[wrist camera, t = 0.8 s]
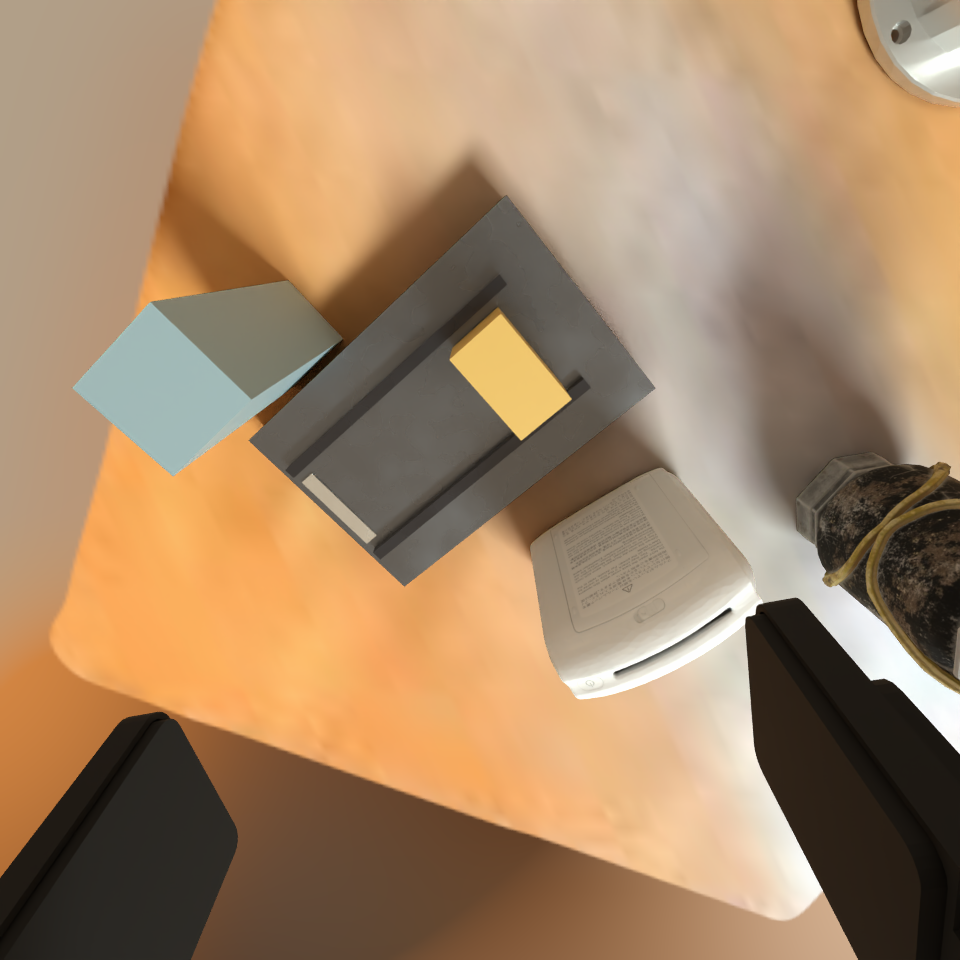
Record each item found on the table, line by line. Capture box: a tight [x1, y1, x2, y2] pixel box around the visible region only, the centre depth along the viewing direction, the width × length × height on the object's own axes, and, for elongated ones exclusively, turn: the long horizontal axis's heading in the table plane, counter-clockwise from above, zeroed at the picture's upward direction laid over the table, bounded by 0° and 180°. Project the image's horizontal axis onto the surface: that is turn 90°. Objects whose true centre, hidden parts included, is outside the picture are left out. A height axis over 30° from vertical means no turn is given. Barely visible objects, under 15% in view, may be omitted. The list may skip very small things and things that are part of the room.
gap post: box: [73, 280, 343, 476], centre depth 25 cm, size 4×4×14 cm
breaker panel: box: [249, 195, 655, 587], centre depth 32 cm, size 18×12×3 cm, turn 131°
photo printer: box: [530, 468, 763, 699], centre depth 30 cm, size 10×4×12 cm, turn 125°
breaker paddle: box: [449, 307, 572, 440], centre depth 28 cm, size 3×5×4 cm, turn 41°
